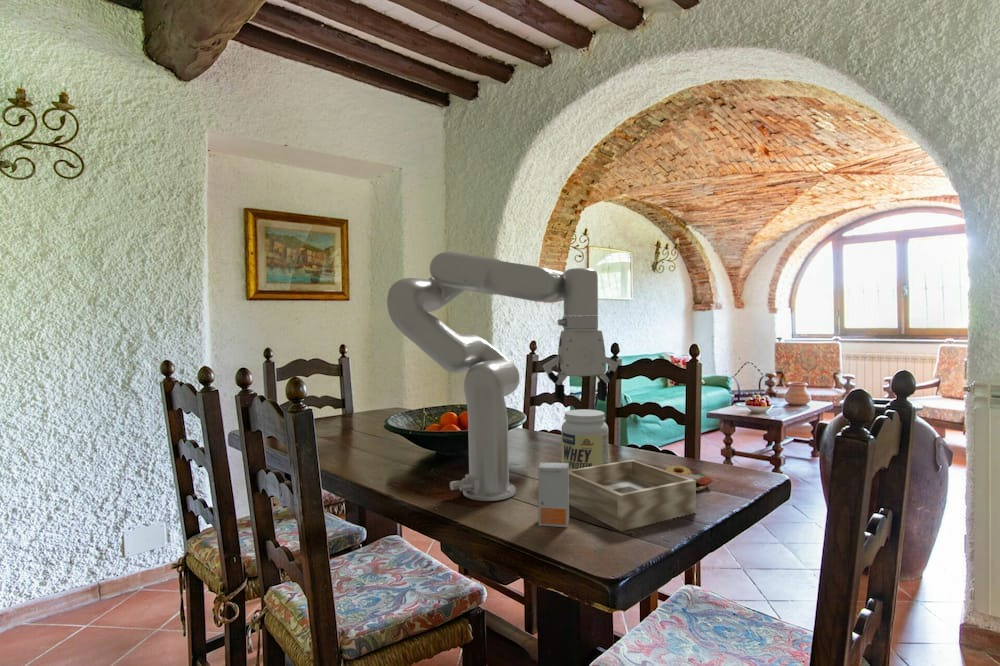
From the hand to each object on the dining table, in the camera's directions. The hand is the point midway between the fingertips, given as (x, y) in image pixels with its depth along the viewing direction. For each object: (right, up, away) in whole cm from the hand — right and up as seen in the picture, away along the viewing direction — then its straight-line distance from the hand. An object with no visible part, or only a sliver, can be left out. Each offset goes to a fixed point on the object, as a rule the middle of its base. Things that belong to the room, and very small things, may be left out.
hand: (581, 401), depth 123 cm
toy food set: (+27, -23, +13) cm, 38 cm away
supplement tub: (+4, -23, +22) cm, 32 cm away
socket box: (+10, -23, -2) cm, 25 cm away
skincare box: (-7, -24, -11) cm, 27 cm away
